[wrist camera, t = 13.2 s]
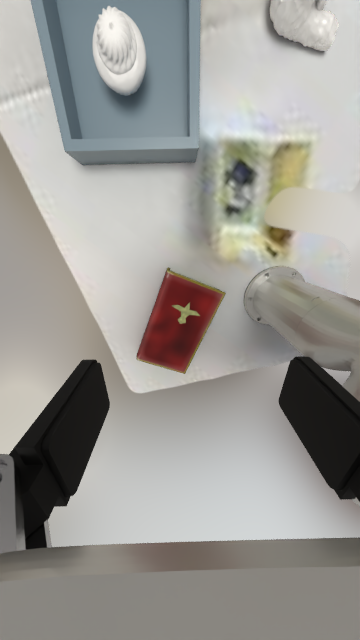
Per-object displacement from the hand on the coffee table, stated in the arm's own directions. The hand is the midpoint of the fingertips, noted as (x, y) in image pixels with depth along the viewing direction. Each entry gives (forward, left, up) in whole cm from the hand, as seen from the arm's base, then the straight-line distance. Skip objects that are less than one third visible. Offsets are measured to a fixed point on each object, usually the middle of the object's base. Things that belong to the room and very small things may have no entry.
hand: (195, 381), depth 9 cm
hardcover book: (+1, +11, -31) cm, 33 cm away
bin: (+6, -26, -30) cm, 40 cm away
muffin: (+6, -26, -29) cm, 40 cm away
